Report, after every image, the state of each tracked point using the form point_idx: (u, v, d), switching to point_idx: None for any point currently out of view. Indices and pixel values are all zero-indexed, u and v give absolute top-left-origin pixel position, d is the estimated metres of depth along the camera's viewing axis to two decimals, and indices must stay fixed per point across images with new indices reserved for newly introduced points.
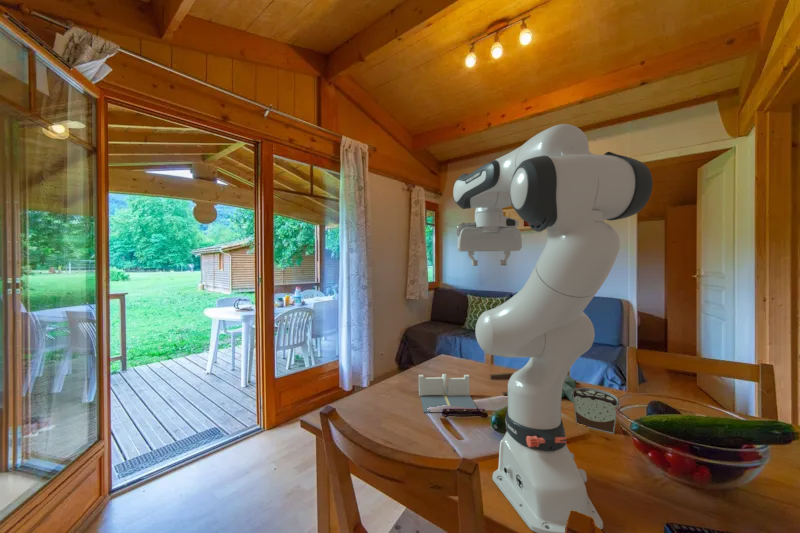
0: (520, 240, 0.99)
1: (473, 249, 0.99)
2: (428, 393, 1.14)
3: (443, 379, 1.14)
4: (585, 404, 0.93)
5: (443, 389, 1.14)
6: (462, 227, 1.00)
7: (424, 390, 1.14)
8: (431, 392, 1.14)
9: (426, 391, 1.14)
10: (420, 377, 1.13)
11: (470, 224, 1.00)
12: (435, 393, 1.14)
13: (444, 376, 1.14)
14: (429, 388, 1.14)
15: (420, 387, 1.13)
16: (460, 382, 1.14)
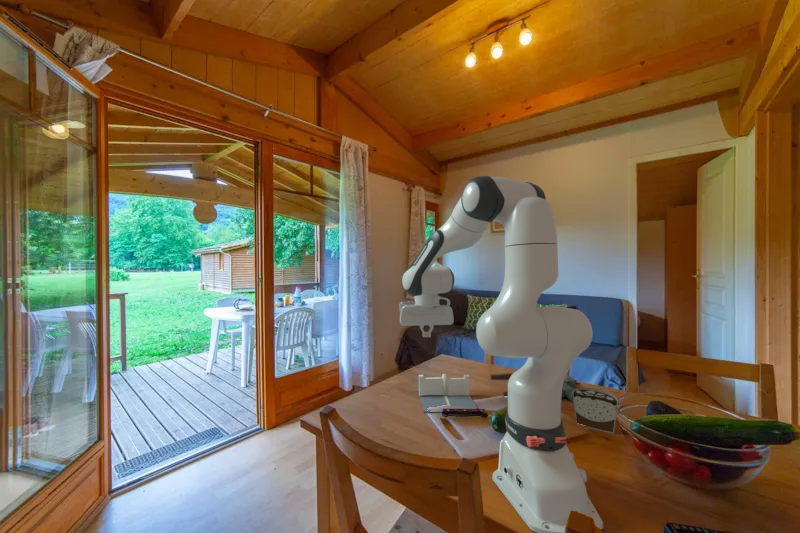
0: (452, 316, 1.16)
1: (412, 324, 1.16)
2: (428, 393, 1.14)
3: (443, 379, 1.14)
4: (585, 404, 0.93)
5: (443, 389, 1.14)
6: (403, 304, 1.17)
7: (424, 390, 1.14)
8: (431, 392, 1.14)
9: (426, 391, 1.14)
10: (420, 377, 1.13)
11: (410, 302, 1.17)
12: (435, 393, 1.14)
13: (444, 376, 1.14)
14: (429, 388, 1.14)
15: (420, 387, 1.13)
16: (460, 382, 1.14)
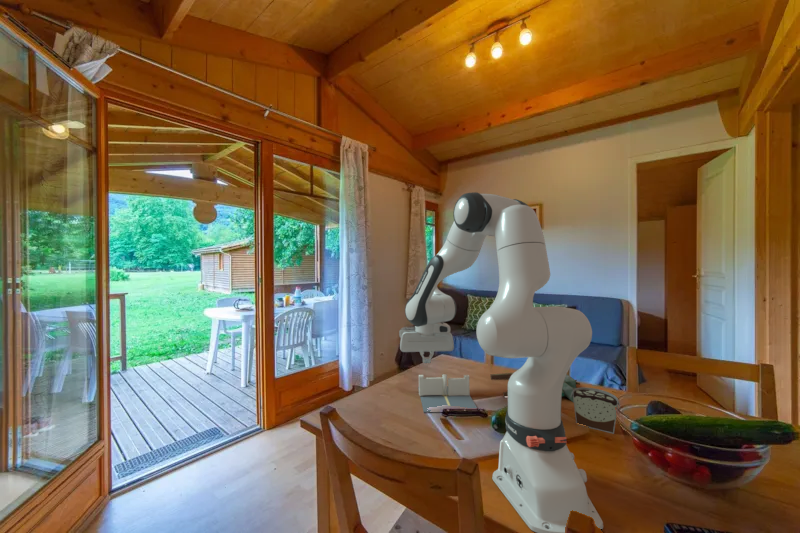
0: (452, 343, 1.17)
1: (412, 350, 1.17)
2: (428, 393, 1.14)
3: (443, 379, 1.14)
4: (585, 404, 0.93)
5: (443, 389, 1.14)
6: (403, 331, 1.18)
7: (424, 390, 1.14)
8: (431, 392, 1.14)
9: (426, 391, 1.14)
10: (420, 377, 1.13)
11: (410, 328, 1.18)
12: (435, 393, 1.14)
13: (444, 376, 1.14)
14: (429, 388, 1.14)
15: (420, 387, 1.13)
16: (460, 382, 1.14)
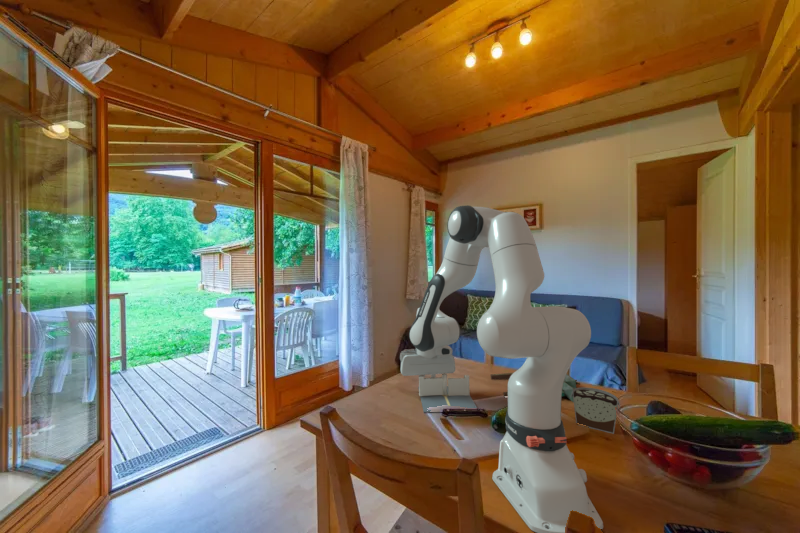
0: (454, 365, 1.15)
1: (413, 374, 1.13)
2: (429, 394, 1.13)
3: (443, 379, 1.14)
4: (585, 404, 0.93)
5: (444, 389, 1.14)
6: (404, 354, 1.14)
7: (424, 390, 1.13)
8: (431, 392, 1.14)
9: (426, 391, 1.13)
10: (420, 377, 1.13)
11: (411, 351, 1.14)
12: (435, 393, 1.14)
13: (444, 376, 1.14)
14: (429, 388, 1.13)
15: (420, 388, 1.13)
16: (460, 382, 1.14)
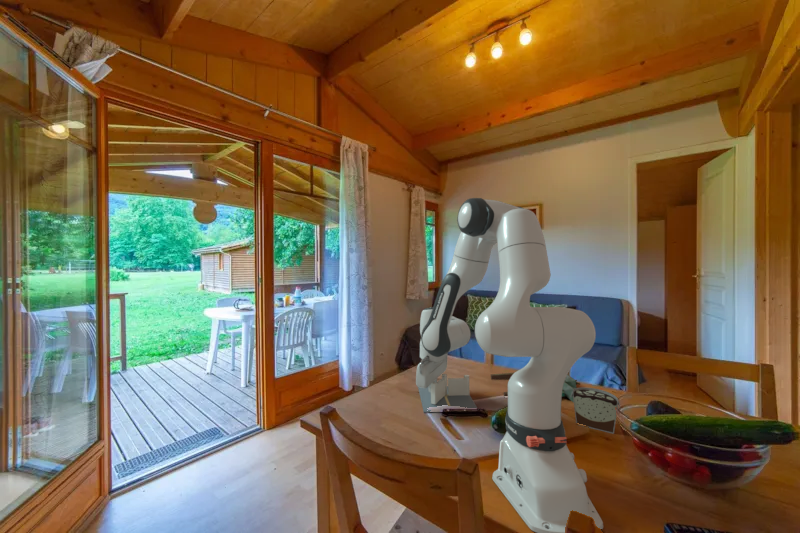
0: None
1: (430, 383, 1.04)
2: (439, 399, 1.09)
3: (445, 379, 1.14)
4: (585, 404, 0.93)
5: (446, 389, 1.14)
6: (423, 364, 1.02)
7: (437, 397, 1.08)
8: (440, 396, 1.10)
9: (438, 397, 1.09)
10: (435, 384, 1.07)
11: (426, 359, 1.04)
12: (442, 396, 1.11)
13: (446, 376, 1.14)
14: (439, 393, 1.09)
15: (435, 395, 1.06)
16: (460, 382, 1.14)
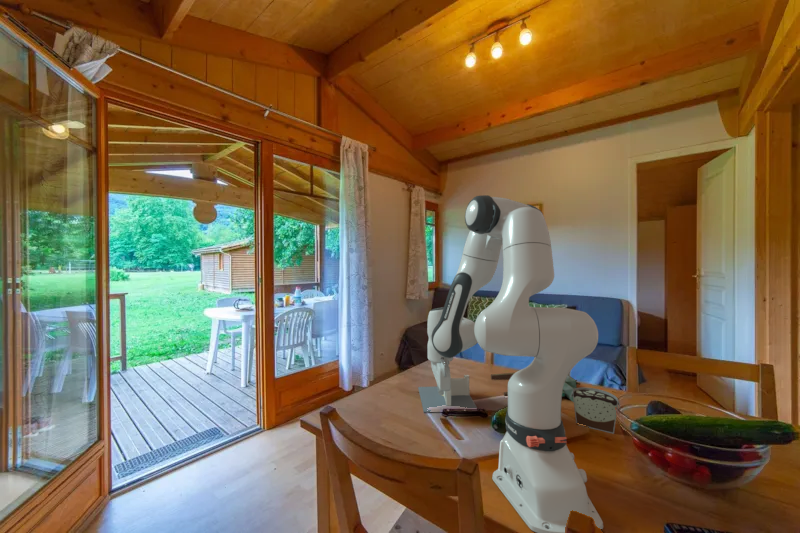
0: None
1: None
2: None
3: None
4: (585, 404, 0.93)
5: None
6: (445, 366, 1.00)
7: None
8: None
9: None
10: None
11: (444, 361, 1.02)
12: None
13: None
14: None
15: (450, 397, 1.05)
16: (460, 382, 1.14)
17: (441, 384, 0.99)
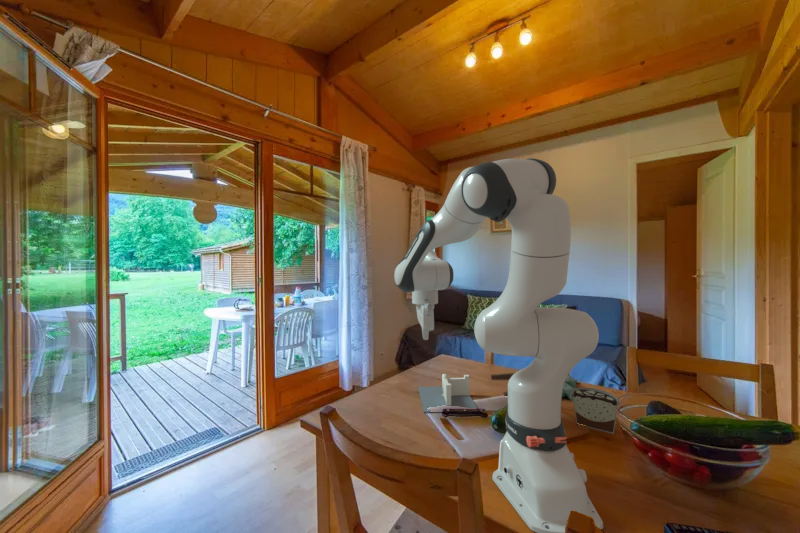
0: None
1: None
2: None
3: (446, 379, 1.14)
4: (585, 404, 0.93)
5: None
6: None
7: None
8: None
9: None
10: (450, 385, 1.06)
11: None
12: None
13: (446, 375, 1.14)
14: None
15: None
16: (460, 382, 1.14)
17: (424, 323, 0.97)
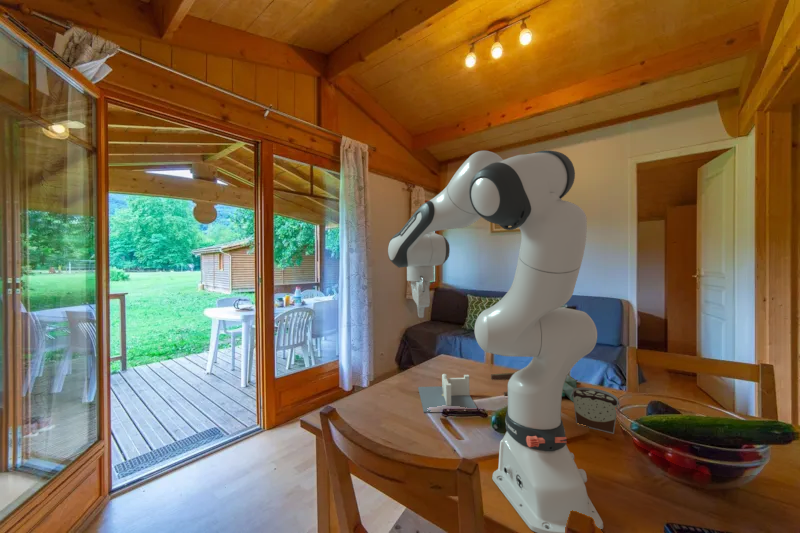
0: None
1: None
2: None
3: (446, 379, 1.14)
4: (585, 404, 0.93)
5: None
6: None
7: None
8: None
9: None
10: (450, 385, 1.06)
11: None
12: None
13: (446, 375, 1.14)
14: None
15: None
16: (460, 382, 1.14)
17: (419, 299, 0.94)
